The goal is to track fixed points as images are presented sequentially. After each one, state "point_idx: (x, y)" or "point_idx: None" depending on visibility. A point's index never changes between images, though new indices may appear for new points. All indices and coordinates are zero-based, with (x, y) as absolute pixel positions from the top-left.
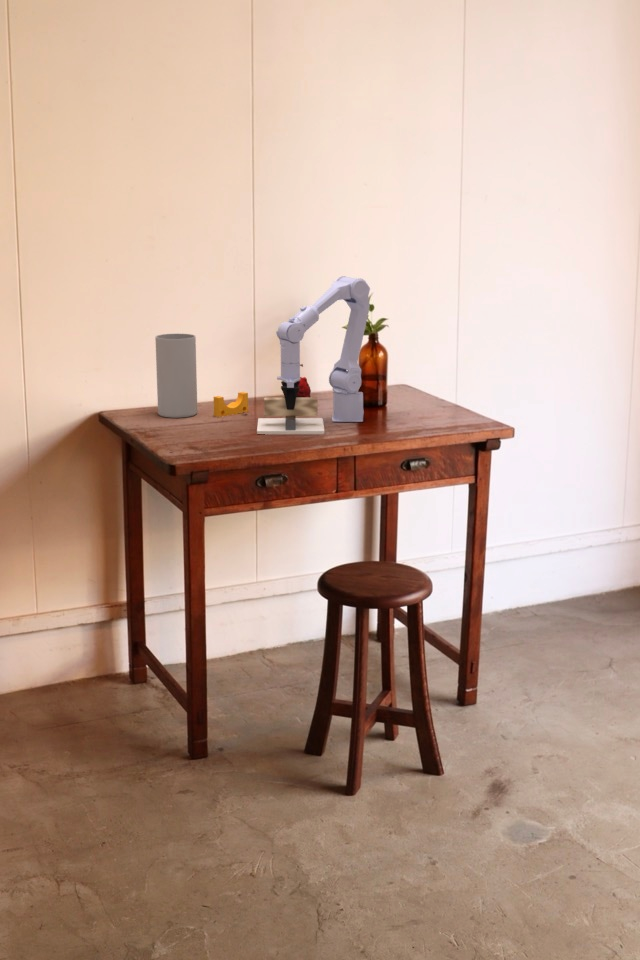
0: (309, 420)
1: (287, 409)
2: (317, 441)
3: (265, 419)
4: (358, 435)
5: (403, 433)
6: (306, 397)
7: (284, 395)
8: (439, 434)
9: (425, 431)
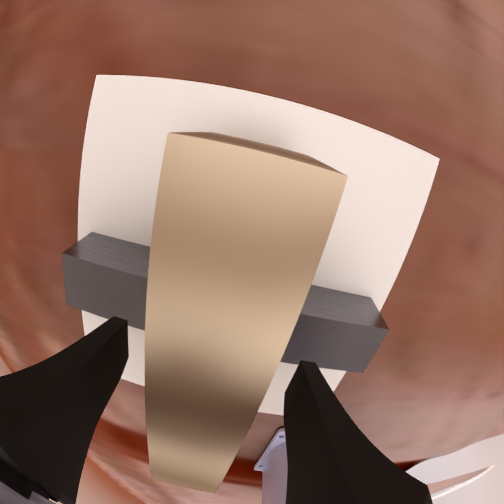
0: (290, 380)
1: (111, 318)
2: (11, 303)
3: (401, 187)
4: None
5: (127, 468)
6: (223, 474)
7: (19, 371)
8: (125, 485)
9: (147, 486)
